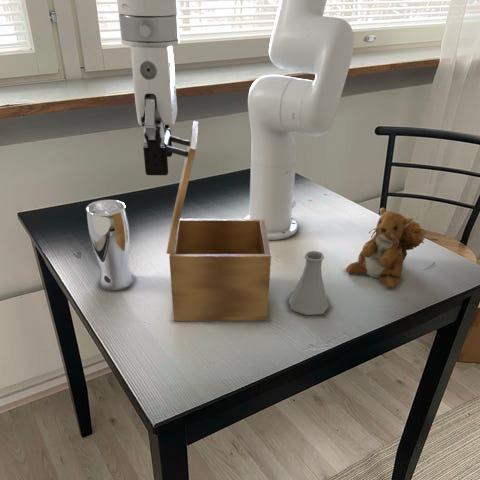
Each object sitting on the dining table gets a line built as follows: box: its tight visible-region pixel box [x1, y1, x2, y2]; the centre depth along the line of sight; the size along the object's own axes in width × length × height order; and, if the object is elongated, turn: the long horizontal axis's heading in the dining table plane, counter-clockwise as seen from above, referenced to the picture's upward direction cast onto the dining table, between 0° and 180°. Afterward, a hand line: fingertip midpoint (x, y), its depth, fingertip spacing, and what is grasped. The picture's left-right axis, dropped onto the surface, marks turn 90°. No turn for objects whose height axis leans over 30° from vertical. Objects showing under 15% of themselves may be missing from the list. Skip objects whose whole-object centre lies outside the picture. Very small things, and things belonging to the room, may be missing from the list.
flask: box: [288, 250, 330, 316], centre depth 86 cm, size 7×7×10 cm
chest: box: [168, 218, 272, 322], centre depth 86 cm, size 16×14×12 cm
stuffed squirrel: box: [345, 207, 426, 289], centre depth 95 cm, size 10×14×13 cm
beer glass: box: [85, 199, 134, 291], centre depth 89 cm, size 7×7×15 cm
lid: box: [158, 120, 200, 255], centre depth 77 cm, size 17×14×6 cm
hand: (159, 164), depth 75 cm, fingers open, 7 cm apart
